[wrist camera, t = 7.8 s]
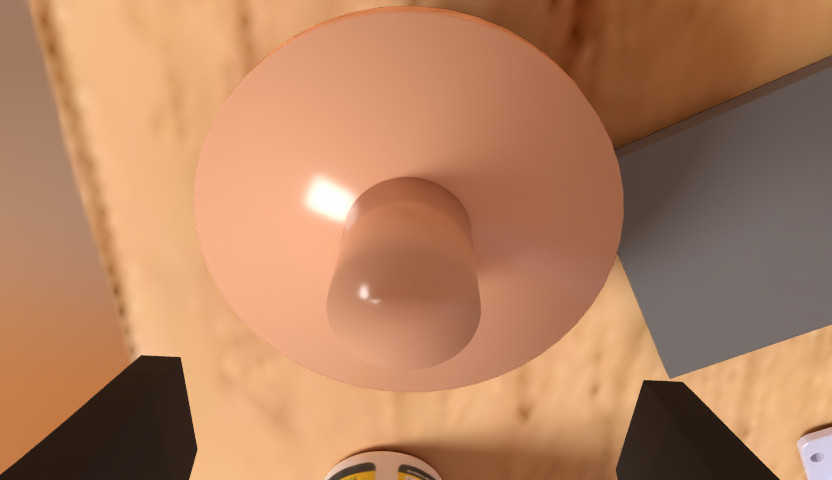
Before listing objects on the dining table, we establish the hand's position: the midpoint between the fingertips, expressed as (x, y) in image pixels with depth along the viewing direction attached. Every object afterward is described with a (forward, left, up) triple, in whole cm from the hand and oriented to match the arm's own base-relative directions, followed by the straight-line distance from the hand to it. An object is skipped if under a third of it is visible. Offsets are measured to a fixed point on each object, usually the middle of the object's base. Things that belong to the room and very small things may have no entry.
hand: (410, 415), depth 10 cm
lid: (0, 0, -6) cm, 6 cm away
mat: (-7, -9, -10) cm, 15 cm away
